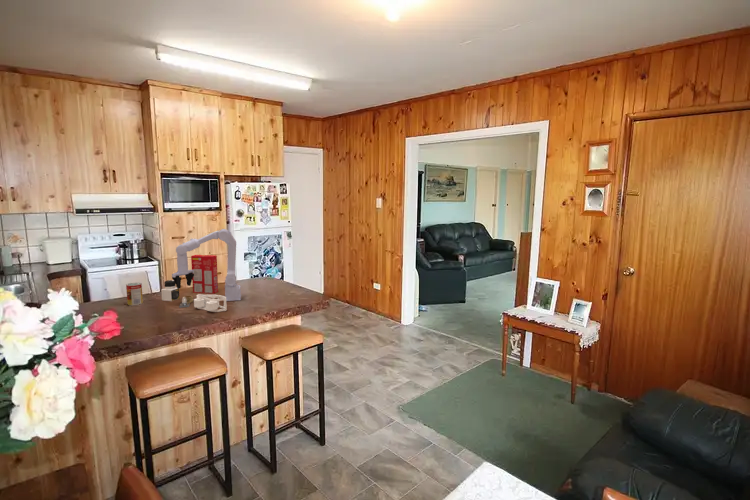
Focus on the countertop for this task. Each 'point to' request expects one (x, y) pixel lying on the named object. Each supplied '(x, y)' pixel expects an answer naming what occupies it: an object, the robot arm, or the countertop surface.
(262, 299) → the countertop surface
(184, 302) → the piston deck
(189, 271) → the robot arm
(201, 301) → the car outline toy
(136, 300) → the canned food
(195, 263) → the food packaging
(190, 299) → the wooden ring
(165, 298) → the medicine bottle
